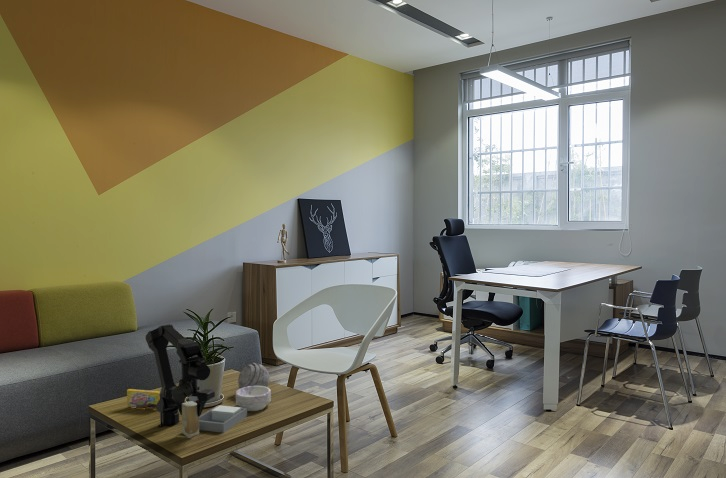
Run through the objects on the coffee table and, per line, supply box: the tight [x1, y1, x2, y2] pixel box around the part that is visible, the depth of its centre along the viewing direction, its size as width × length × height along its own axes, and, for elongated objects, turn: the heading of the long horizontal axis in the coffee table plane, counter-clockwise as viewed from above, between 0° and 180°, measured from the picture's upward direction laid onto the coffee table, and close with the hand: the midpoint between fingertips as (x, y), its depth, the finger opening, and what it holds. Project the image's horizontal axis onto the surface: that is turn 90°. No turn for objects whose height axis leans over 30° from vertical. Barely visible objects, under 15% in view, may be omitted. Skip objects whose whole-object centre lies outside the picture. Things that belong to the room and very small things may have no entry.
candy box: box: [126, 388, 161, 411], centre depth 234 cm, size 16×2×8 cm, turn 76°
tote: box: [199, 404, 248, 433], centre depth 215 cm, size 14×18×4 cm
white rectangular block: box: [212, 405, 241, 421], centre depth 219 cm, size 10×6×4 cm, turn 73°
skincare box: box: [181, 400, 200, 439], centre depth 204 cm, size 6×4×12 cm
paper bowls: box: [235, 386, 272, 412], centre depth 232 cm, size 15×15×8 cm
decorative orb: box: [237, 362, 270, 389], centre depth 251 cm, size 15×14×15 cm
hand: (190, 415), depth 203 cm, fingers closed on skincare box, 7 cm apart
